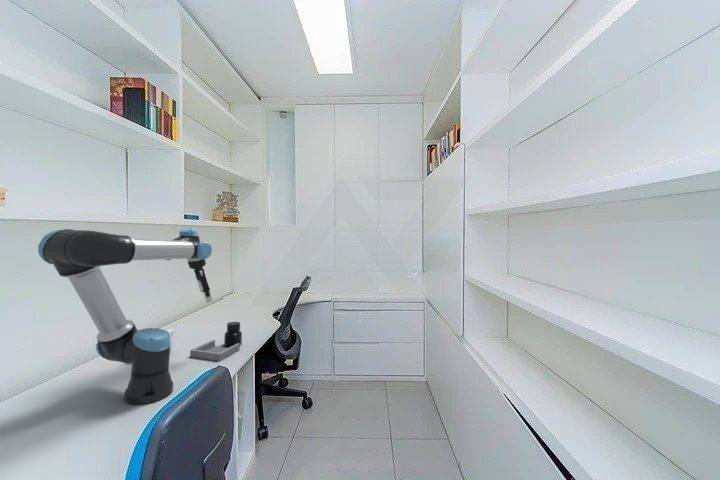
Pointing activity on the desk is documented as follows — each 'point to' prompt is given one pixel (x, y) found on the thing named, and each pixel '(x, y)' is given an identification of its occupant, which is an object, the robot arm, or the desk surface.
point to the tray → (213, 351)
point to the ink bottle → (233, 334)
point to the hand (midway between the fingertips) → (206, 296)
